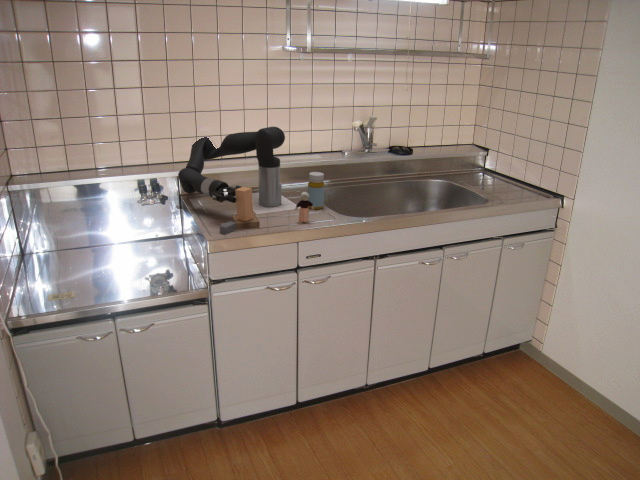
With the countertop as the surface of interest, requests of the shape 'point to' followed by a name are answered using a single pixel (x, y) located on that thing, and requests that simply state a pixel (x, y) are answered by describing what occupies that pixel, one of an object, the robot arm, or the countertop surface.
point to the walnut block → (246, 223)
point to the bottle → (316, 190)
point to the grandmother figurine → (304, 208)
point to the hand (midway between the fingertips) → (243, 197)
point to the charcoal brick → (228, 227)
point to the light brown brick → (244, 203)
